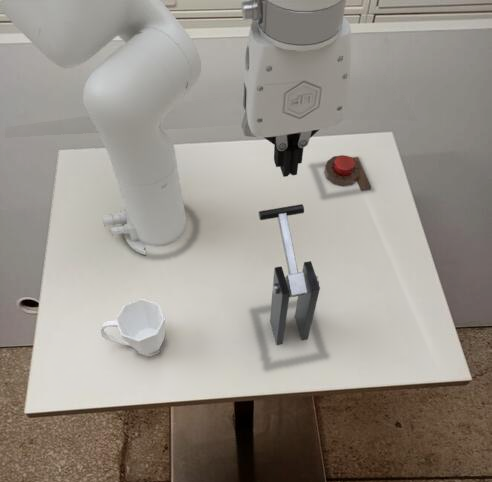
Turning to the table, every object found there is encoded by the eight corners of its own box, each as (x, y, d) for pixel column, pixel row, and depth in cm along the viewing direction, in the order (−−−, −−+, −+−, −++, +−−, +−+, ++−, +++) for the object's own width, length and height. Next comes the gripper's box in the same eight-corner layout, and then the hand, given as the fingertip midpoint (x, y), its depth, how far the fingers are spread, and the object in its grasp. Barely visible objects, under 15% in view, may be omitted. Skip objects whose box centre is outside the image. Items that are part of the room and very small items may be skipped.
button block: (324, 197, 92) (326, 187, 90) (312, 166, 96) (314, 156, 94) (370, 189, 93) (373, 179, 91) (357, 159, 97) (360, 149, 95)
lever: (257, 214, 68) (259, 208, 66) (300, 207, 68) (304, 201, 66) (274, 300, 67) (277, 298, 65) (317, 292, 68) (321, 290, 66)
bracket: (253, 311, 81) (254, 252, 67) (307, 301, 82) (319, 241, 68) (267, 367, 76) (272, 316, 62) (324, 356, 77) (341, 303, 63)
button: (336, 178, 92) (338, 170, 90) (330, 164, 93) (332, 156, 92) (355, 175, 92) (357, 167, 90) (349, 161, 94) (351, 153, 92)
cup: (171, 364, 76) (163, 340, 69) (105, 365, 76) (91, 342, 69) (173, 323, 80) (166, 297, 73) (110, 324, 80) (97, 298, 72)
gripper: (225, 46, 41) (231, 201, 57) (397, 23, 43) (356, 180, 59) (209, -4, 45) (219, 155, 61) (368, -24, 46) (337, 136, 62)
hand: (287, 167), depth 60 cm, fingers closed
